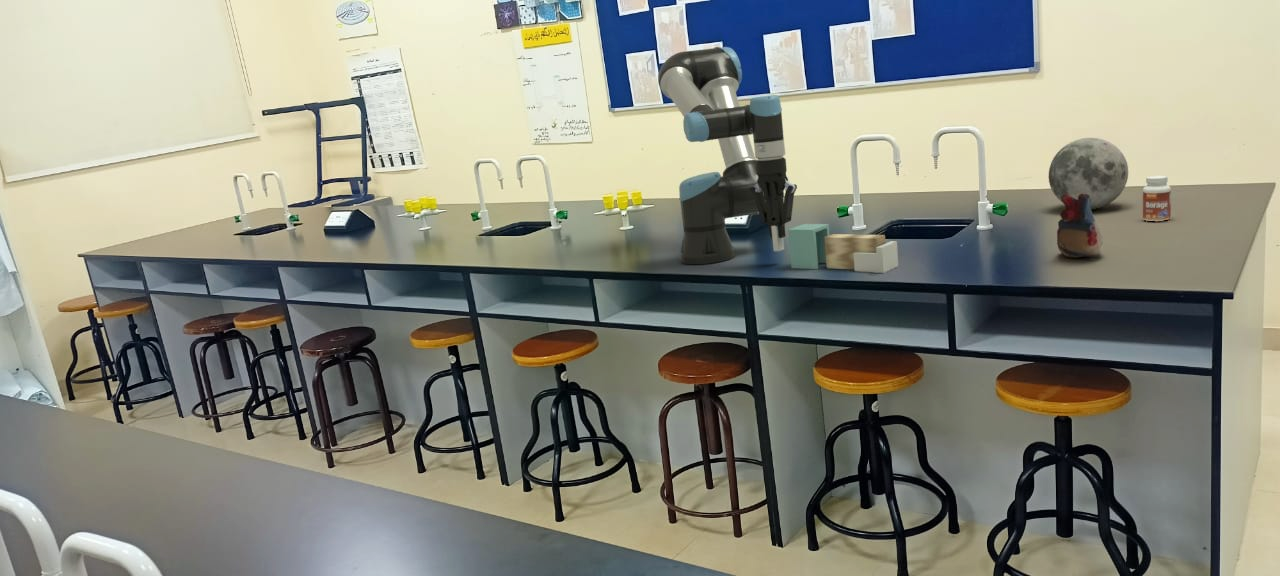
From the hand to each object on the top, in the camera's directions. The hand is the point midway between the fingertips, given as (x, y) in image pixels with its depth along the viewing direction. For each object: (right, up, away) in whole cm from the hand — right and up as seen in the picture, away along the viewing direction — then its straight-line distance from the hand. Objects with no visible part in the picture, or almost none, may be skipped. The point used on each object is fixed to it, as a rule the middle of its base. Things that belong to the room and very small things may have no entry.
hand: (779, 250), depth 235 cm
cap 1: (+7, -4, -5) cm, 10 cm away
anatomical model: (+63, -3, -31) cm, 70 cm away
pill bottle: (+95, +7, -3) cm, 96 cm away
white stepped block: (+20, -5, -17) cm, 27 cm away
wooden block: (+17, -5, -14) cm, 22 cm away
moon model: (+91, +12, +23) cm, 94 cm away
